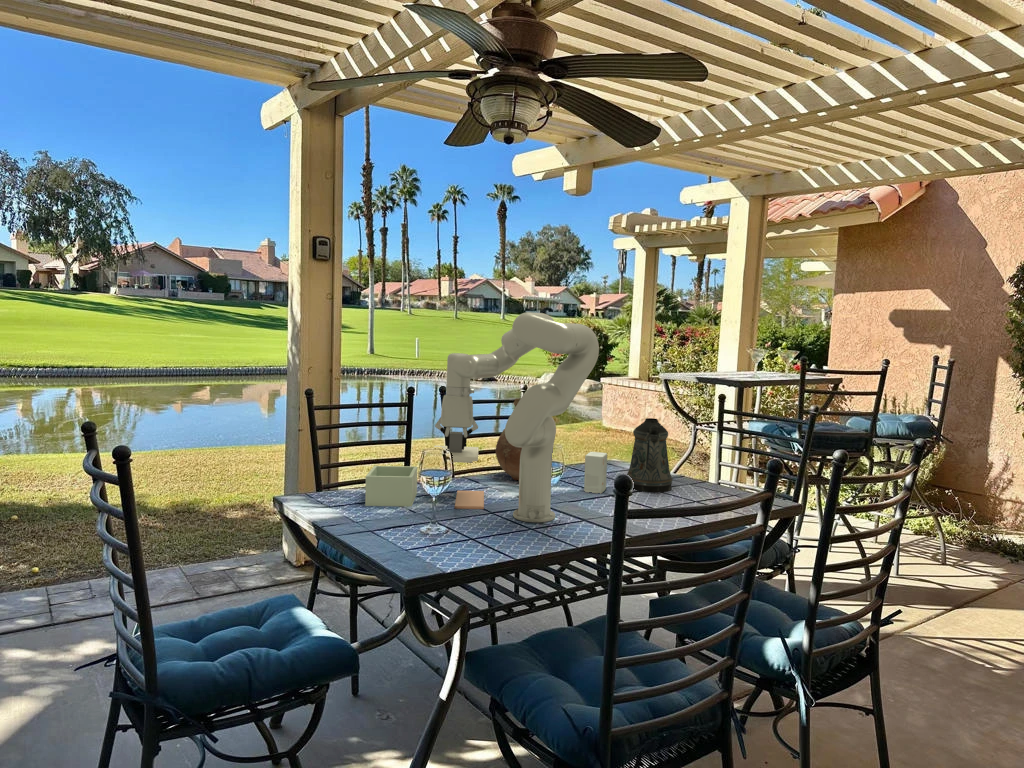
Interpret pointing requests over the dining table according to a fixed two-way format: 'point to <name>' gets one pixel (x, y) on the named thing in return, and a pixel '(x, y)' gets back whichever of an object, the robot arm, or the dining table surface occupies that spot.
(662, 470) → the beer stein
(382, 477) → the storage tub
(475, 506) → the tile
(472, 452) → the lid
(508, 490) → the dining table surface
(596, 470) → the small box
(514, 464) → the jug
